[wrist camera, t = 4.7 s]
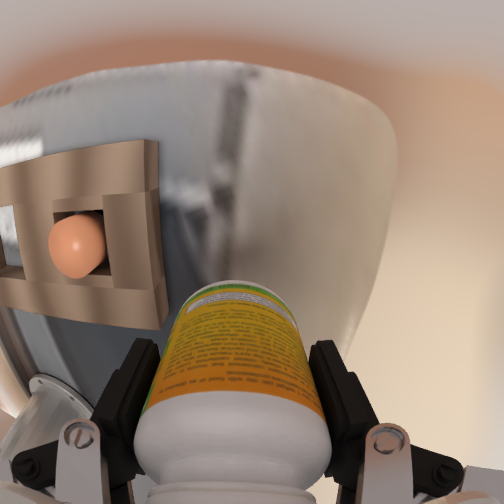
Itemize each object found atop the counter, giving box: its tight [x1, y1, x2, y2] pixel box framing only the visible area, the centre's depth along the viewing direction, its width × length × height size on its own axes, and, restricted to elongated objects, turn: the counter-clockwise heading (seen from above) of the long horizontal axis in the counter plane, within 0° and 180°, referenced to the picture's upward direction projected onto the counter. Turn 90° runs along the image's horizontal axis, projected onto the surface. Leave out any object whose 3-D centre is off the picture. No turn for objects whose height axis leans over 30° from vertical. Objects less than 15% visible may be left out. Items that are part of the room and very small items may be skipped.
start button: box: [48, 210, 109, 279], centre depth 18 cm, size 4×4×3 cm
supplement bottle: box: [134, 280, 332, 504], centre depth 8 cm, size 5×5×10 cm
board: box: [0, 139, 169, 331], centre depth 19 cm, size 23×14×3 cm, turn 89°
